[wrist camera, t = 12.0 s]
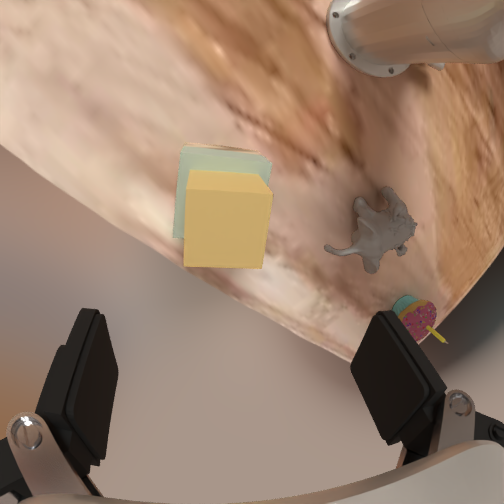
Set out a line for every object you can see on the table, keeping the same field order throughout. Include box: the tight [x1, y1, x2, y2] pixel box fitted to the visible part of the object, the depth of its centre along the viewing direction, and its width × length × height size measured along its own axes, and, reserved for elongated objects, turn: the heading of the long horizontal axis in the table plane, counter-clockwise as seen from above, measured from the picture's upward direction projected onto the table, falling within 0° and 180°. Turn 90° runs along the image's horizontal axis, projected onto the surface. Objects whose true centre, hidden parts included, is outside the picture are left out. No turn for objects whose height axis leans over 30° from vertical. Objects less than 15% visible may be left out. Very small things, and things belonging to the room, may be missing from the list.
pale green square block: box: [173, 146, 272, 239], centre depth 28 cm, size 8×8×4 cm
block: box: [184, 170, 273, 269], centre depth 24 cm, size 6×6×6 cm
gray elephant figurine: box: [324, 186, 417, 274], centre depth 35 cm, size 9×12×8 cm
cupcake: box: [392, 295, 447, 343], centre depth 43 cm, size 9×8×12 cm
